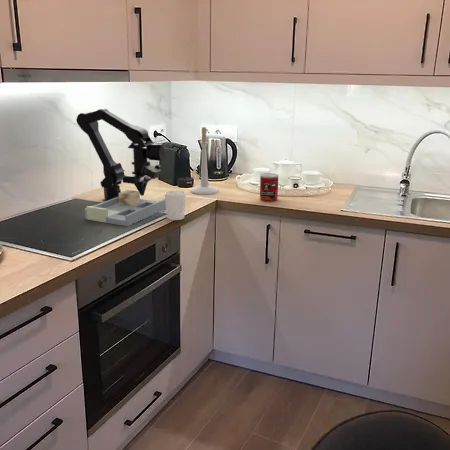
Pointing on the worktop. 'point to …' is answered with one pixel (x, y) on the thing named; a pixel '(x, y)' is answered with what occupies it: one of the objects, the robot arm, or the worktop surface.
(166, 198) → the white cup
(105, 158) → the robot arm
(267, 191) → the canned food
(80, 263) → the worktop surface
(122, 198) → the maple block
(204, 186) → the candlestick
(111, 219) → the board
